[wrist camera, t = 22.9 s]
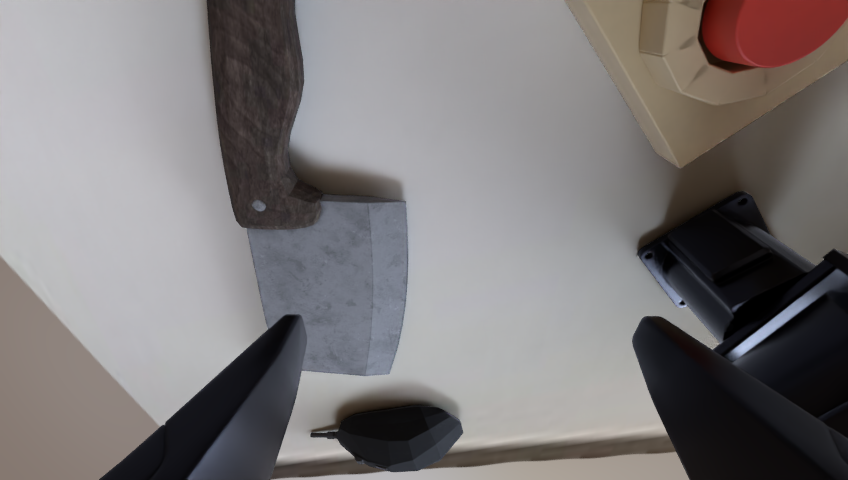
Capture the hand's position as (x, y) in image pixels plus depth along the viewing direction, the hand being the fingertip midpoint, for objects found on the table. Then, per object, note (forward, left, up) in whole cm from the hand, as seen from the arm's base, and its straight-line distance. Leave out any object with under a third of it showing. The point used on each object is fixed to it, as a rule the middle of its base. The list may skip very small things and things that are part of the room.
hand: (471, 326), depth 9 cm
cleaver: (+2, +8, -12) cm, 15 cm away
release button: (-2, -13, -8) cm, 15 cm away
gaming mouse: (-16, +22, -12) cm, 30 cm away
